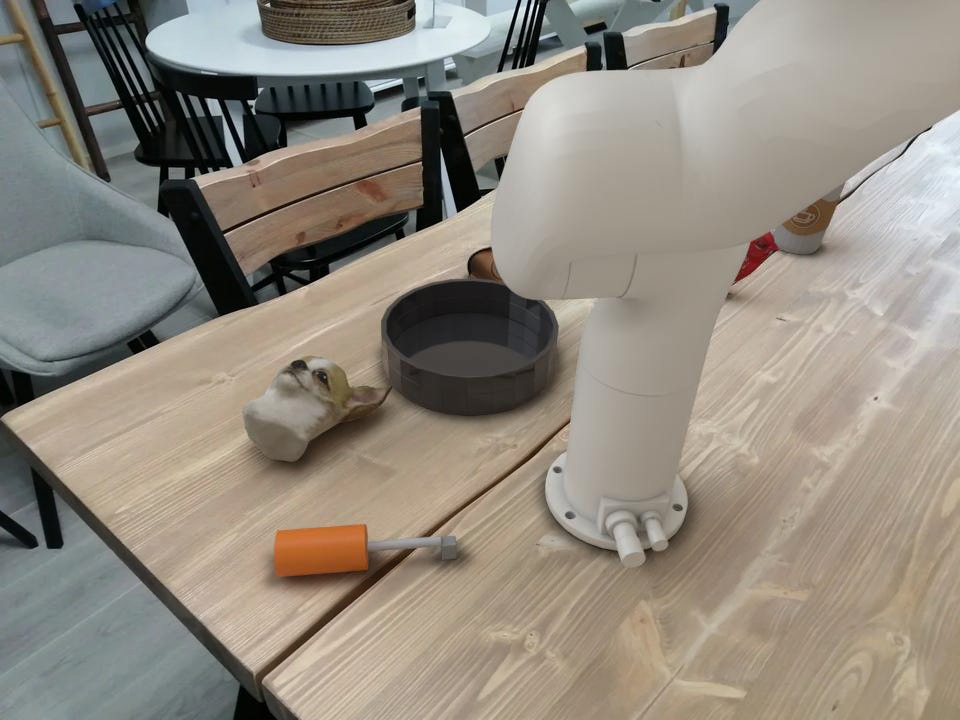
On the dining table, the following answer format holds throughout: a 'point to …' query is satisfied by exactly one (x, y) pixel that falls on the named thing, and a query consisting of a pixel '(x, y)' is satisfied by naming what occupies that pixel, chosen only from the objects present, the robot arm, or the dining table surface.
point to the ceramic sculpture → (306, 406)
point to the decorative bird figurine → (756, 255)
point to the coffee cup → (808, 225)
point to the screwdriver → (340, 549)
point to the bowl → (468, 346)
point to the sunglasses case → (483, 265)
